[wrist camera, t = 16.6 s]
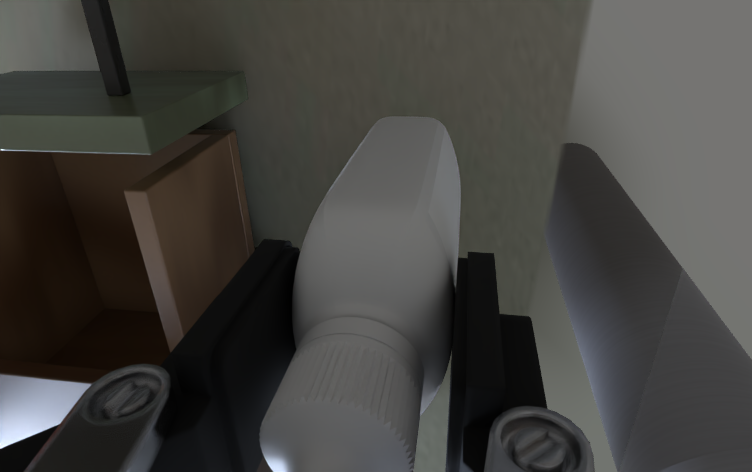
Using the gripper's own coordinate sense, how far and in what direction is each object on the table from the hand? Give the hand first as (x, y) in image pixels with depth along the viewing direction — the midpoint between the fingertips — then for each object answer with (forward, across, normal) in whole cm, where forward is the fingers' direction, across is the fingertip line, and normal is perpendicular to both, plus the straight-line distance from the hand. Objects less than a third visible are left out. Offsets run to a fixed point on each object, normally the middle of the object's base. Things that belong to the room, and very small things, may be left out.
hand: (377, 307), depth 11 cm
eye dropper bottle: (+7, 0, 0) cm, 7 cm away
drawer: (+12, +13, +1) cm, 18 cm away
